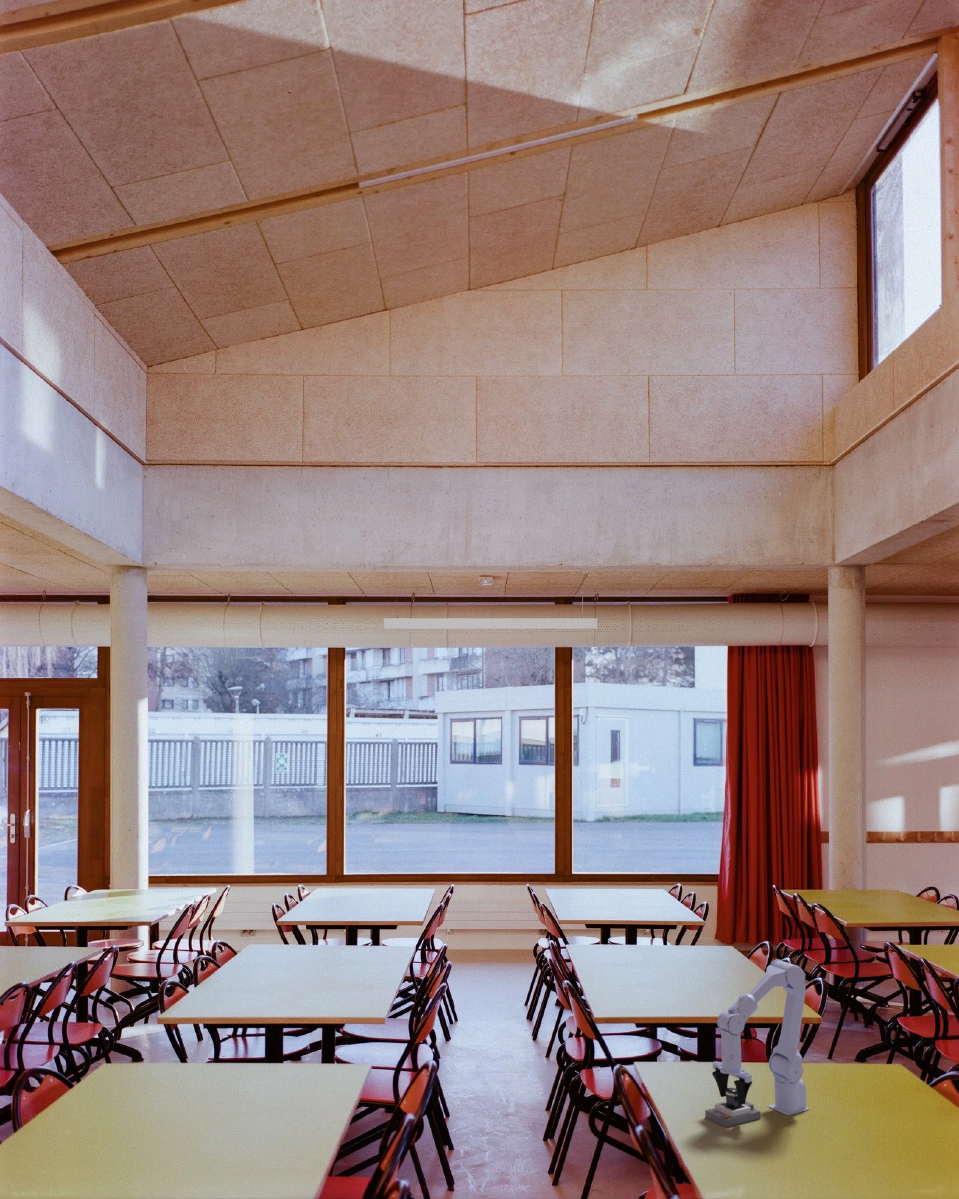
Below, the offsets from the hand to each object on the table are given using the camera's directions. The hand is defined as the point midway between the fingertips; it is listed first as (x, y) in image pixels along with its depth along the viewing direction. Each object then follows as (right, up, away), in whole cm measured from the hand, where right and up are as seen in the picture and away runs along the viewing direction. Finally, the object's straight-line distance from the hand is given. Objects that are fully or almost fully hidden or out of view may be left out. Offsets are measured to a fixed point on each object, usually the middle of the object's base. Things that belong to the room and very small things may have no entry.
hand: (732, 1100), depth 308 cm
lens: (0, -3, 0) cm, 3 cm away
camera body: (0, -5, -1) cm, 5 cm away
